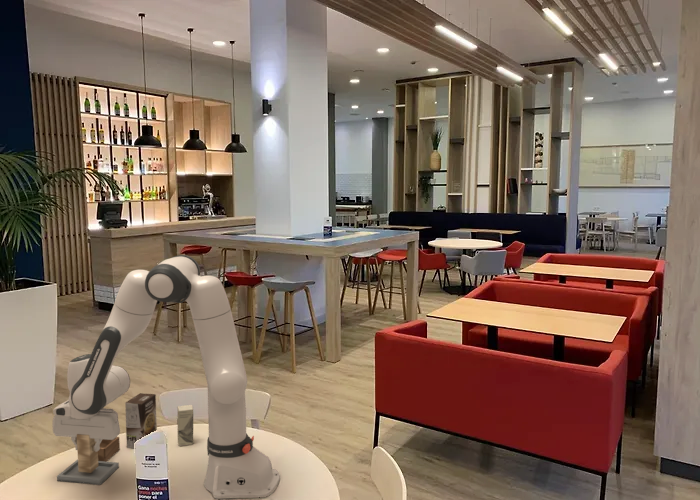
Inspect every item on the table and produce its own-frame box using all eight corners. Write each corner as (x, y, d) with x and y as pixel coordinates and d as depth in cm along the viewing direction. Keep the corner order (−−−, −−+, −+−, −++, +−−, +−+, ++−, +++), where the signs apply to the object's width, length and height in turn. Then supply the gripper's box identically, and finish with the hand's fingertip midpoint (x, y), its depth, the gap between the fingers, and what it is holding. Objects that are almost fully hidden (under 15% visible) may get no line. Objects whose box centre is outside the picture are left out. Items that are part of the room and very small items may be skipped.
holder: (119, 449, 181) (119, 437, 180) (105, 462, 173) (105, 448, 172) (97, 447, 182) (96, 435, 181) (82, 460, 174) (81, 447, 173)
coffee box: (143, 449, 181) (141, 404, 179) (126, 447, 182) (124, 402, 180) (157, 437, 190) (156, 393, 188) (141, 435, 191) (139, 392, 189)
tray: (118, 467, 169) (118, 462, 169) (100, 484, 160) (100, 479, 159) (77, 463, 171) (77, 459, 171) (57, 481, 161) (56, 476, 161)
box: (178, 446, 183) (177, 411, 181) (177, 441, 187) (176, 406, 185) (194, 444, 185) (193, 408, 183) (193, 438, 189) (192, 403, 187)
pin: (98, 465, 167) (96, 429, 165) (90, 472, 163) (88, 435, 161) (86, 465, 167) (84, 428, 166) (78, 471, 163) (76, 434, 162)
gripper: (123, 405, 164) (125, 447, 166) (61, 401, 167) (64, 442, 169) (111, 413, 158) (113, 457, 160) (47, 409, 161) (50, 452, 163)
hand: (87, 450), depth 164 cm, fingers closed on pin, 4 cm apart
